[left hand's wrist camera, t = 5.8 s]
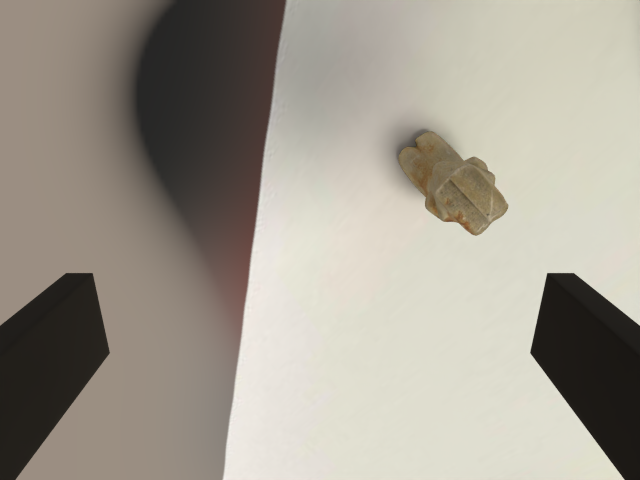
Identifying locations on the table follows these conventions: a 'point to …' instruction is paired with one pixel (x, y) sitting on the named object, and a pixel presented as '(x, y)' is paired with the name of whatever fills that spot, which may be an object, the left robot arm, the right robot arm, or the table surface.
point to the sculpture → (453, 184)
